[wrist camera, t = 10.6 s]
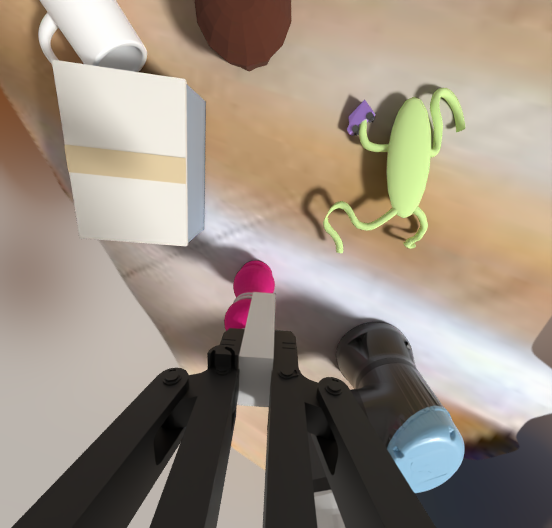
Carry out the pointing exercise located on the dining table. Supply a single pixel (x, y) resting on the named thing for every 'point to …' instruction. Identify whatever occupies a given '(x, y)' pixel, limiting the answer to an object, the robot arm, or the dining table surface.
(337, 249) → the figurine
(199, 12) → the muffin
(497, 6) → the dining table surface
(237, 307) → the pepper mill
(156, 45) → the dining table surface
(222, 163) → the dining table surface
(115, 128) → the lid
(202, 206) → the box
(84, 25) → the mug
